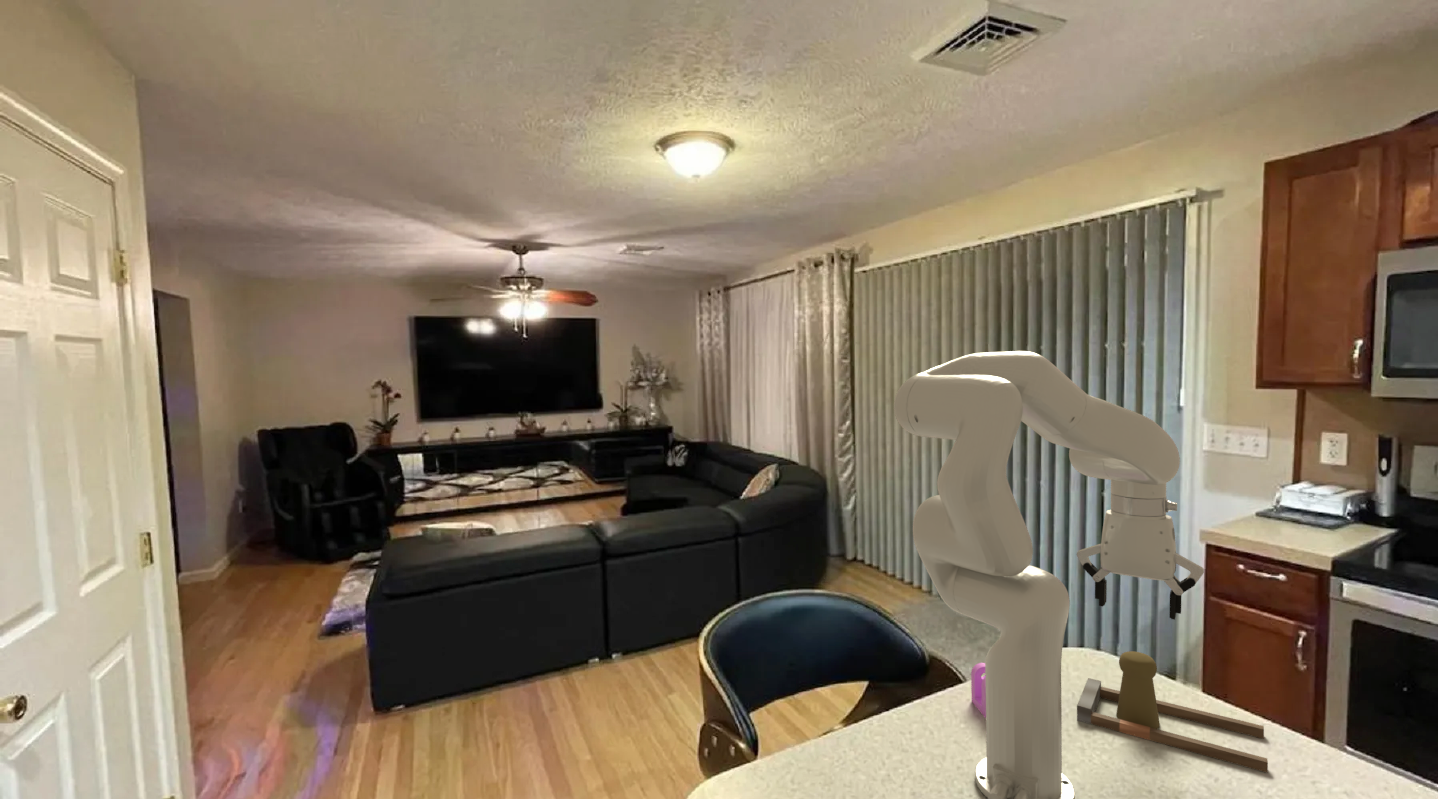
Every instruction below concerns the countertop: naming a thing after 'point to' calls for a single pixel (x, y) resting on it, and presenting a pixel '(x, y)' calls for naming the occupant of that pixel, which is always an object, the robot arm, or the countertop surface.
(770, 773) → the countertop surface
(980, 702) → the bracket
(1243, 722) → the guide channel
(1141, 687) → the cork
